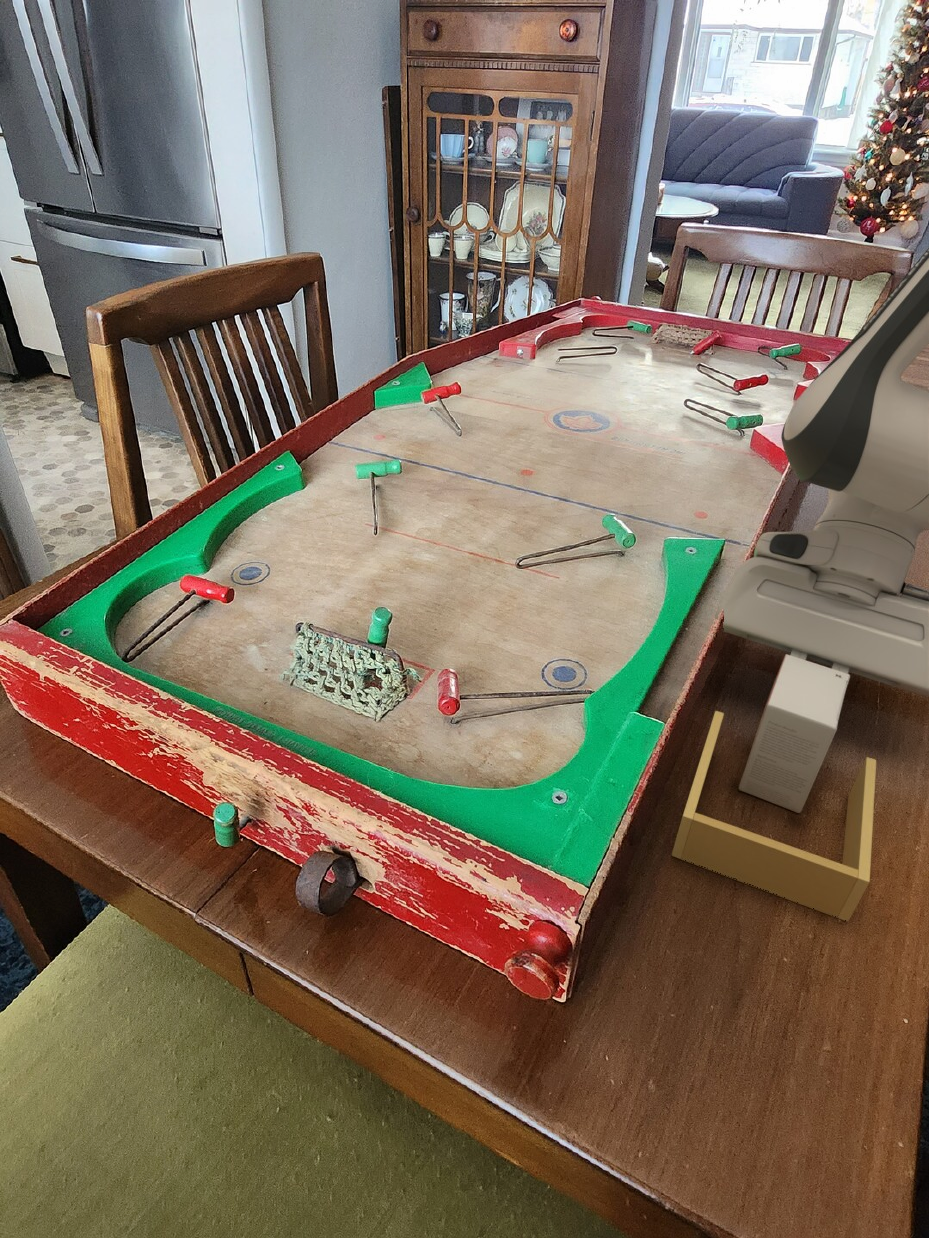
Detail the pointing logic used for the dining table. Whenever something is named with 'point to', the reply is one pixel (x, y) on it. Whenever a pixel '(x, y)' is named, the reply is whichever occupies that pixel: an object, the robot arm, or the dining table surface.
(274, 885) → the dining table surface
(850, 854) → the bay
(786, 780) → the small box
